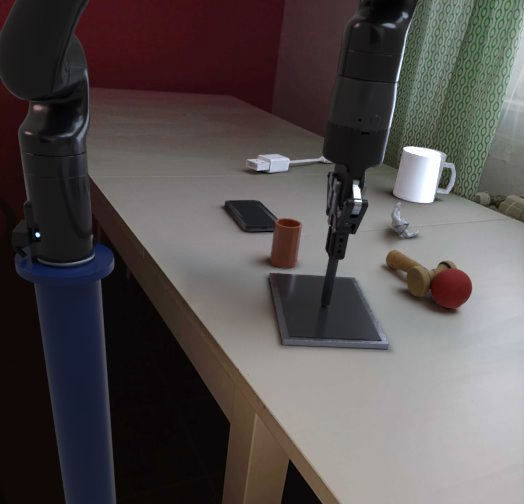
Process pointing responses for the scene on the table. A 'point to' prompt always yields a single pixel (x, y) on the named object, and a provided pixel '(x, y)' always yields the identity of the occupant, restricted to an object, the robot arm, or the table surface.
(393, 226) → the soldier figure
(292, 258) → the pen cup
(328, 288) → the stylus
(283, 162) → the charging cable
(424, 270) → the kendama
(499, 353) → the table surface
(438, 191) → the mug
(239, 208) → the phone
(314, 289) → the tablet
